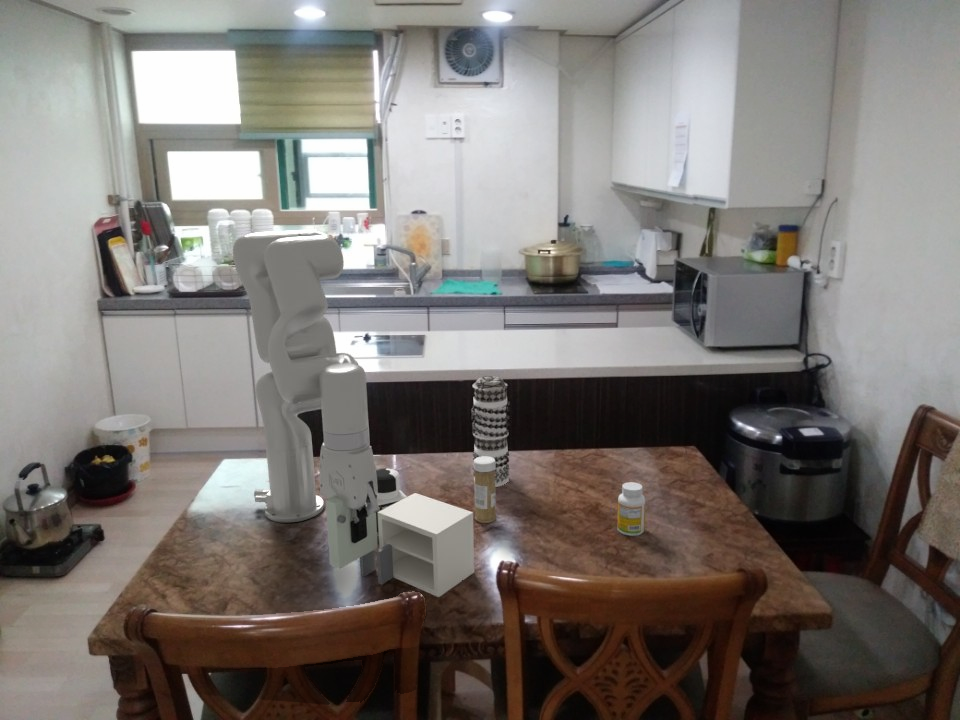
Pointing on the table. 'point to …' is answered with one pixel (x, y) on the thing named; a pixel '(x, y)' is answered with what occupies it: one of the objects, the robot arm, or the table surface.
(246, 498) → the table surface
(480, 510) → the spice jar
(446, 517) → the cabinet
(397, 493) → the medicine bottle
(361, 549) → the door
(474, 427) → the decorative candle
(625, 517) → the supplement bottle
